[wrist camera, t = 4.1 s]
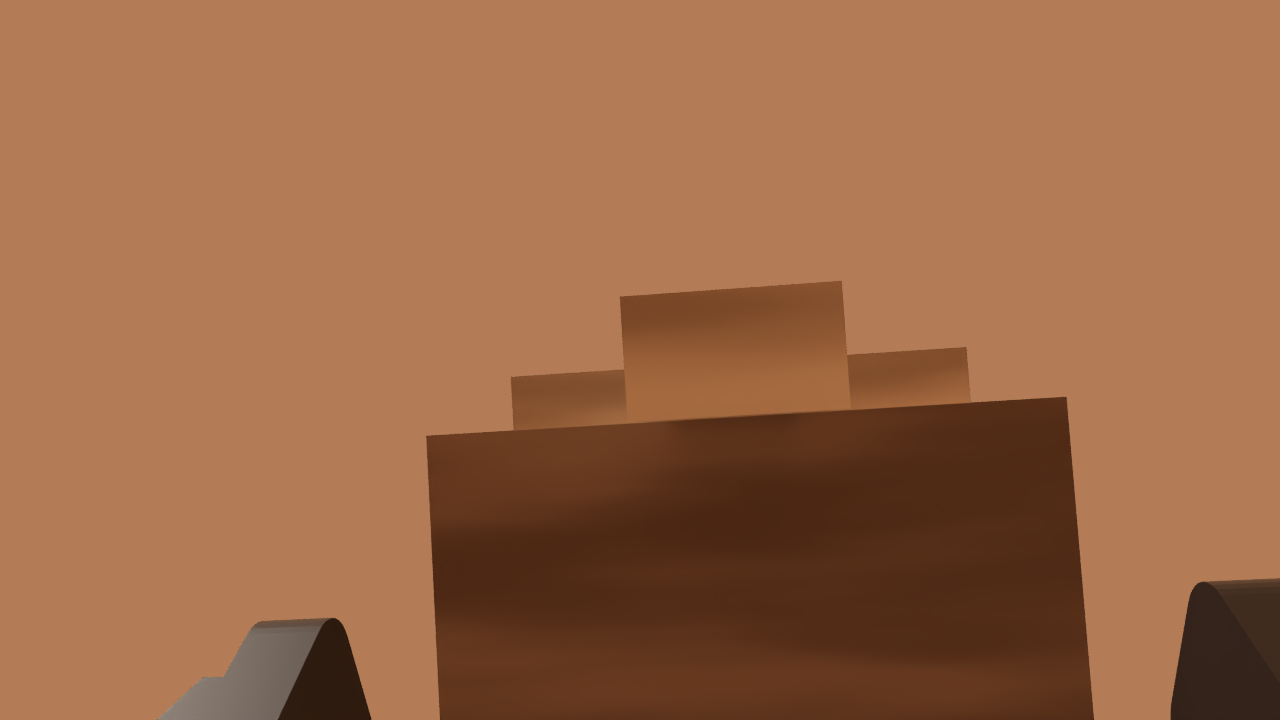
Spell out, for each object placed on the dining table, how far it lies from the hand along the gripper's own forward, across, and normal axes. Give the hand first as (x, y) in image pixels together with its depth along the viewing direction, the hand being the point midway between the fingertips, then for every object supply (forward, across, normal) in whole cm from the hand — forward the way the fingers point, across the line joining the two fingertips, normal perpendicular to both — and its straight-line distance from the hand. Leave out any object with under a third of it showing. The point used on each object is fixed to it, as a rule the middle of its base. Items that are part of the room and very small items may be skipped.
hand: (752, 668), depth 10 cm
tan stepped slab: (+14, 0, +5) cm, 15 cm away
